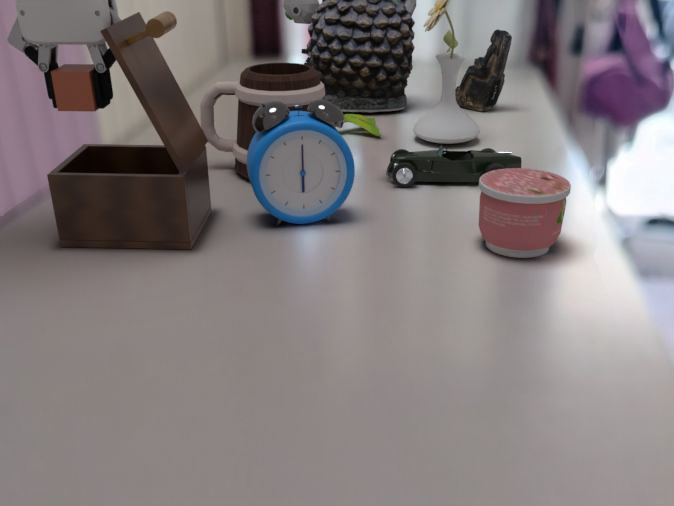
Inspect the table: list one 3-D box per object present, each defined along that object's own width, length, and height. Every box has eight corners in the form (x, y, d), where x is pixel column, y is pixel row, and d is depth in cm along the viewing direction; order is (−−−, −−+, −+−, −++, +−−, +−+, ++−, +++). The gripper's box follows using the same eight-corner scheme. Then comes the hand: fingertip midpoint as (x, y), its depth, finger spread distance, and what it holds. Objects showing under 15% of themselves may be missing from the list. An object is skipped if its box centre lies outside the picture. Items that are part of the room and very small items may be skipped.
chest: (60, 247, 96) (46, 174, 91) (94, 210, 107) (83, 143, 102) (191, 249, 95) (183, 177, 91) (211, 212, 106) (206, 145, 102)
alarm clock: (253, 229, 101) (246, 109, 93) (249, 213, 106) (242, 97, 98) (355, 222, 103) (356, 104, 96) (345, 206, 108) (345, 93, 101)
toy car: (384, 169, 123) (385, 137, 120) (514, 170, 123) (518, 138, 120) (386, 189, 114) (388, 155, 112) (526, 190, 115) (530, 156, 112)
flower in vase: (422, 129, 144) (429, -24, 131) (484, 134, 140) (498, -22, 128) (401, 148, 133) (407, -17, 121) (469, 154, 130) (482, -14, 117)
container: (506, 268, 91) (514, 201, 87) (457, 237, 99) (462, 174, 95) (580, 253, 95) (590, 188, 91) (526, 224, 103) (534, 163, 99)
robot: (361, 108, 186) (259, 37, 188) (397, 49, 180) (291, -23, 183) (348, 105, 175) (239, 30, 177) (386, 42, 169) (273, -35, 172)
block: (57, 111, 92) (50, 71, 90) (70, 102, 96) (64, 64, 93) (95, 111, 92) (89, 71, 89) (107, 102, 95) (101, 64, 93)
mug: (339, 158, 127) (339, 60, 120) (324, 189, 114) (323, 81, 107) (218, 153, 130) (210, 56, 122) (190, 183, 117) (179, 76, 109)
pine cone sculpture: (412, 100, 164) (417, -35, 151) (415, 118, 150) (422, -28, 138) (310, 99, 164) (307, -36, 151) (305, 117, 151) (302, -29, 138)
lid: (99, 31, 83) (143, 8, 82) (133, 14, 94) (172, -6, 93) (180, 174, 90) (221, 155, 89) (203, 143, 102) (240, 126, 100)
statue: (462, 101, 163) (467, 22, 155) (511, 111, 155) (519, 29, 148) (444, 106, 159) (450, 25, 152) (494, 116, 152) (502, 32, 144)
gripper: (141, -72, 87) (161, 99, 96) (-10, -72, 88) (24, 98, 97) (122, -69, 81) (145, 114, 90) (-42, -69, 81) (-2, 113, 91)
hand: (82, 104), depth 93 cm, fingers closed on block, 4 cm apart
